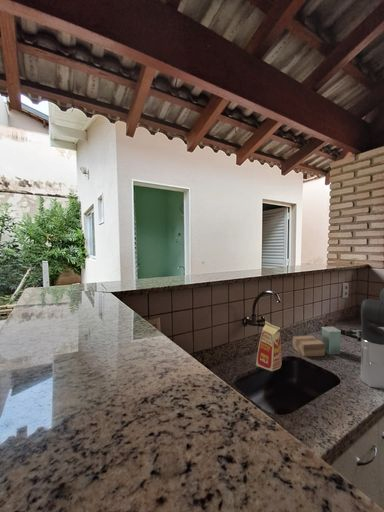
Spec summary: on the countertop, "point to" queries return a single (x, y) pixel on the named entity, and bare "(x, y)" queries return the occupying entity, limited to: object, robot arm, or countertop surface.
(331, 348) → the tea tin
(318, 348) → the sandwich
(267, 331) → the milk carton
